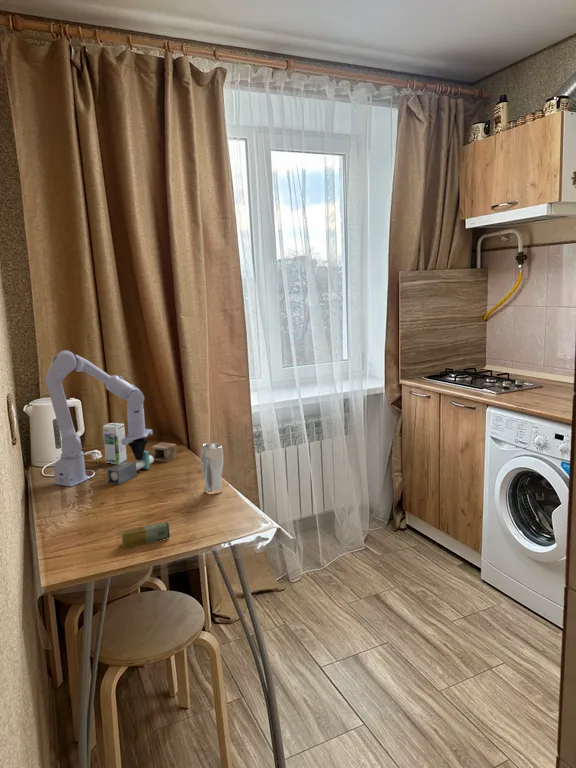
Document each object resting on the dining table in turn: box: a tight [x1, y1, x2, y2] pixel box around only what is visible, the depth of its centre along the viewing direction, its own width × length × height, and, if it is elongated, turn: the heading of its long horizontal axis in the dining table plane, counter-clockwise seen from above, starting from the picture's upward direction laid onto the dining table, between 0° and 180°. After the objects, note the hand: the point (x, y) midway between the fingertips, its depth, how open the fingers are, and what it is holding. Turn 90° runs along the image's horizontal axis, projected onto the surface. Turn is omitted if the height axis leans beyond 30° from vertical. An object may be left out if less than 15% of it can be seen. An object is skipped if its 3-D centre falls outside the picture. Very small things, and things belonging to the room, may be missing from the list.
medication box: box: [120, 521, 171, 549], centre depth 141 cm, size 12×3×4 cm, turn 114°
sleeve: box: [106, 460, 138, 486], centre depth 187 cm, size 9×5×5 cm, turn 157°
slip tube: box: [111, 450, 155, 481], centre depth 192 cm, size 20×4×6 cm, turn 157°
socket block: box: [150, 441, 178, 463], centre depth 209 cm, size 6×7×5 cm
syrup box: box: [102, 422, 128, 465], centre depth 205 cm, size 6×6×14 cm
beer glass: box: [200, 442, 224, 492], centre depth 174 cm, size 7×7×15 cm
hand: (139, 459), depth 195 cm, fingers closed
